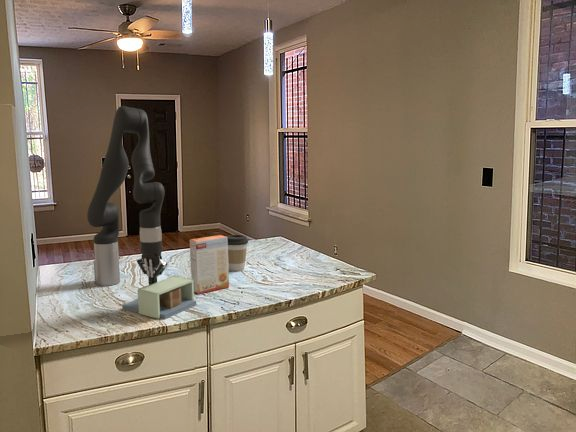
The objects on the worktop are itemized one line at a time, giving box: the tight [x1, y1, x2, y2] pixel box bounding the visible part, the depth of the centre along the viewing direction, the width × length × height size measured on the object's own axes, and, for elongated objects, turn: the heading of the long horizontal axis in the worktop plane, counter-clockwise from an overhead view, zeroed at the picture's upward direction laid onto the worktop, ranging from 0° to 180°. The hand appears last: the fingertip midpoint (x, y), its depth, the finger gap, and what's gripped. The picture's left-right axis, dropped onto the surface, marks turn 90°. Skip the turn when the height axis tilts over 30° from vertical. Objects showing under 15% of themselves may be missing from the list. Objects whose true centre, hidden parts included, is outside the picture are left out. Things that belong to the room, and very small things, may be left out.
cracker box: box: [189, 234, 230, 295], centre depth 198 cm, size 14×6×21 cm, turn 127°
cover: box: [137, 275, 195, 319], centre depth 178 cm, size 9×18×9 cm, turn 150°
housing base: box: [122, 298, 197, 320], centre depth 180 cm, size 20×16×6 cm
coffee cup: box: [226, 234, 249, 272], centre depth 228 cm, size 11×11×15 cm
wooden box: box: [159, 287, 181, 309], centre depth 177 cm, size 5×5×6 cm
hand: (153, 286), depth 180 cm, fingers closed
